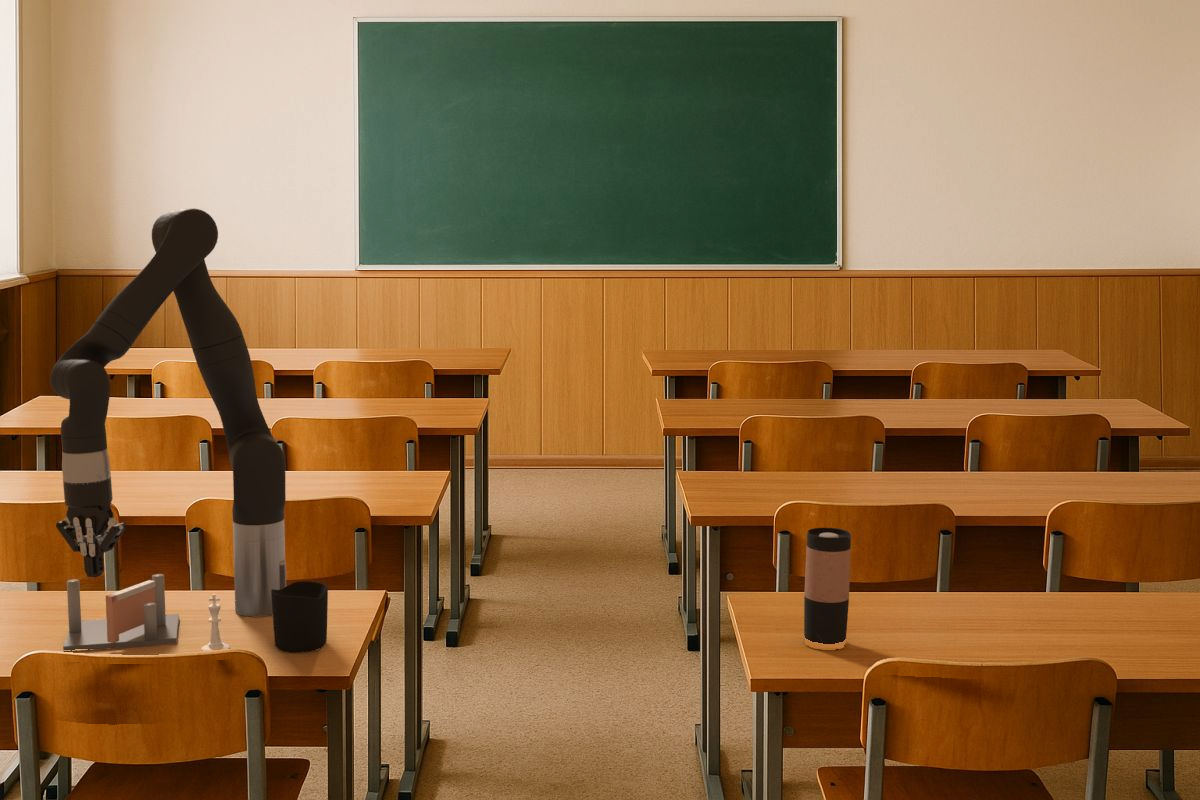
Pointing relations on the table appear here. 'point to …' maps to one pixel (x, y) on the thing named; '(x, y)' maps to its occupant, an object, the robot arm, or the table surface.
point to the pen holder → (300, 616)
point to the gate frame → (150, 633)
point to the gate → (127, 608)
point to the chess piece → (215, 628)
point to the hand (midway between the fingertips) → (94, 576)
